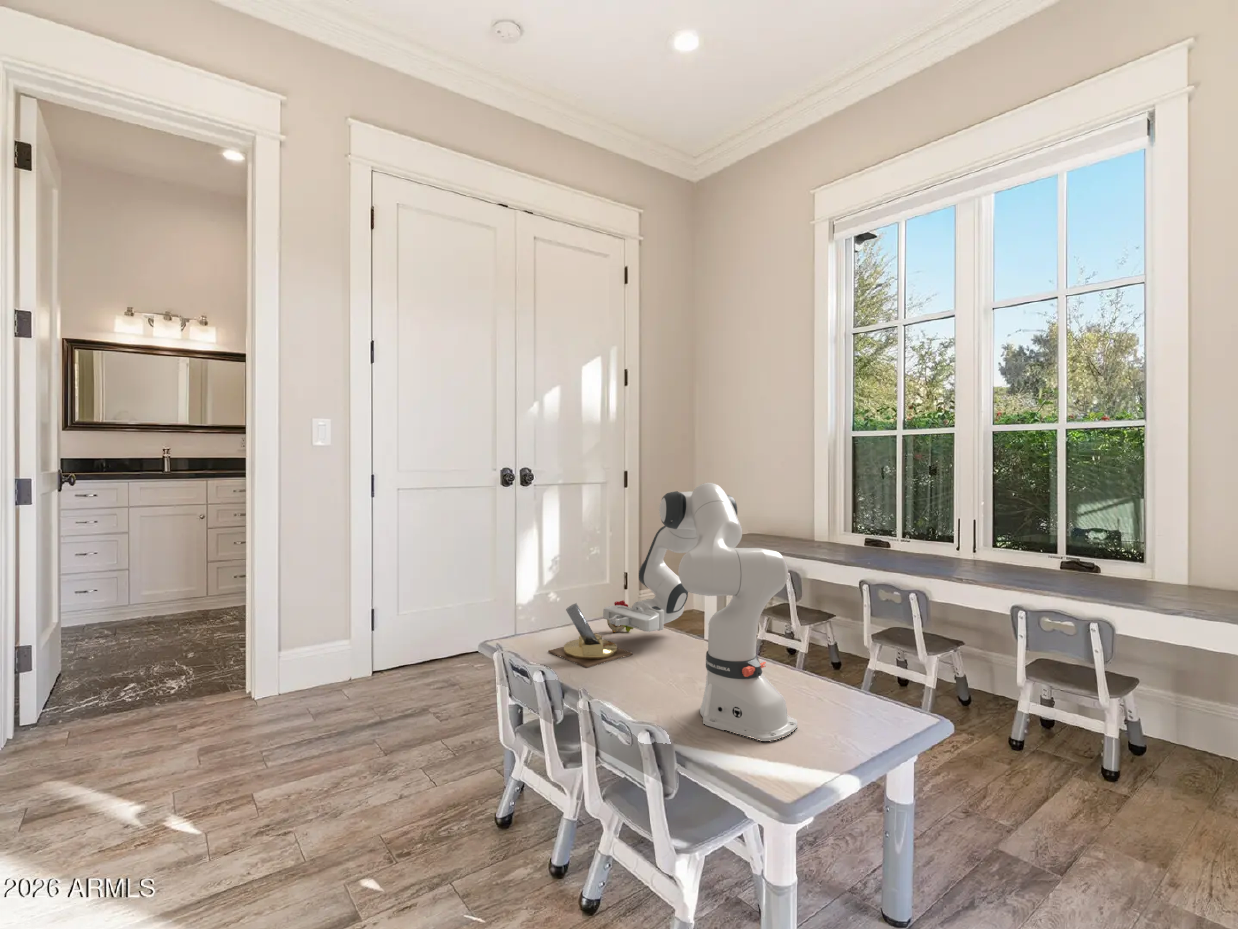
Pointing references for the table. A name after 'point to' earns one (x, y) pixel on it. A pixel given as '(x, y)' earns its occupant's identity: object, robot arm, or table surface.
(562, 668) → the table surface
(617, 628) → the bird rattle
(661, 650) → the table surface
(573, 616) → the pin
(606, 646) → the gold round base
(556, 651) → the base plate
